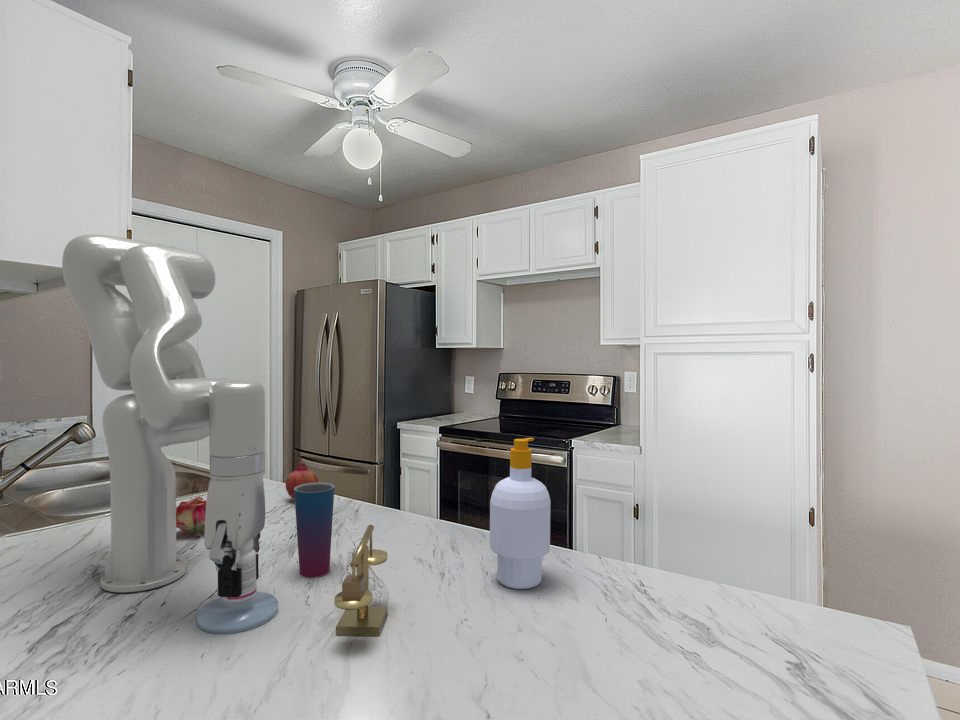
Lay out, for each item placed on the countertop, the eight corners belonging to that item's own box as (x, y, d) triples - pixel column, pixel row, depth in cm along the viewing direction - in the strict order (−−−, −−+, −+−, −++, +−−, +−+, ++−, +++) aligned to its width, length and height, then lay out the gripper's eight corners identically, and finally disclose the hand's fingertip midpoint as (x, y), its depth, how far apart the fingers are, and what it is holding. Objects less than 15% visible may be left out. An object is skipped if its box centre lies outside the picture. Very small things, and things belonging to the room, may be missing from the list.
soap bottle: (561, 580, 95) (563, 440, 95) (524, 600, 88) (526, 447, 87) (515, 564, 102) (516, 433, 102) (476, 581, 95) (478, 439, 94)
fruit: (279, 504, 139) (279, 464, 139) (295, 495, 147) (295, 458, 147) (309, 506, 138) (309, 466, 138) (323, 497, 146) (323, 459, 146)
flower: (230, 526, 117) (223, 491, 120) (188, 529, 109) (182, 492, 113) (203, 546, 120) (197, 511, 124) (161, 550, 113) (155, 513, 116)
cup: (323, 581, 94) (323, 493, 94) (286, 577, 95) (286, 491, 95) (341, 565, 101) (341, 483, 100) (306, 562, 102) (306, 481, 102)
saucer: (181, 632, 77) (180, 625, 77) (220, 597, 88) (220, 590, 88) (259, 634, 77) (259, 627, 77) (289, 598, 88) (289, 592, 88)
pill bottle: (263, 592, 83) (263, 536, 83) (237, 605, 79) (237, 547, 79) (240, 586, 85) (240, 532, 85) (214, 599, 81) (213, 542, 81)
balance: (325, 652, 72) (325, 554, 72) (355, 600, 87) (355, 518, 87) (371, 654, 72) (371, 555, 72) (393, 601, 87) (393, 519, 87)
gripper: (239, 453, 90) (240, 565, 91) (179, 478, 73) (181, 615, 74) (285, 454, 90) (286, 565, 91) (235, 478, 73) (236, 616, 74)
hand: (239, 586), depth 82 cm, fingers closed on pill bottle, 4 cm apart
